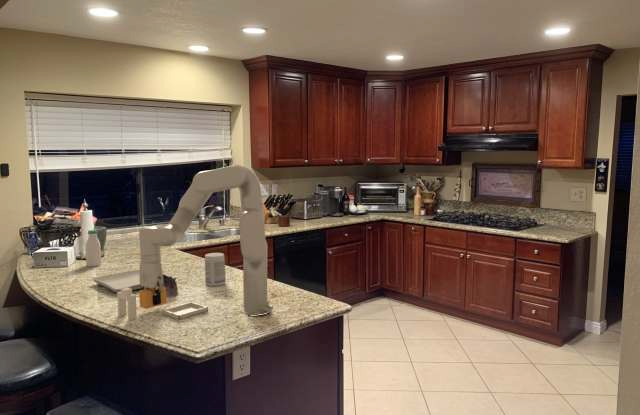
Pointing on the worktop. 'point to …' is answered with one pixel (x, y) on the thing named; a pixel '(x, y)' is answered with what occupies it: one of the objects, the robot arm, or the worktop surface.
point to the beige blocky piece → (131, 299)
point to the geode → (170, 286)
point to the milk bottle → (93, 249)
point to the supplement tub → (215, 269)
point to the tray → (185, 310)
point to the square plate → (120, 281)
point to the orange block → (150, 298)
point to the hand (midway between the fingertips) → (153, 302)
